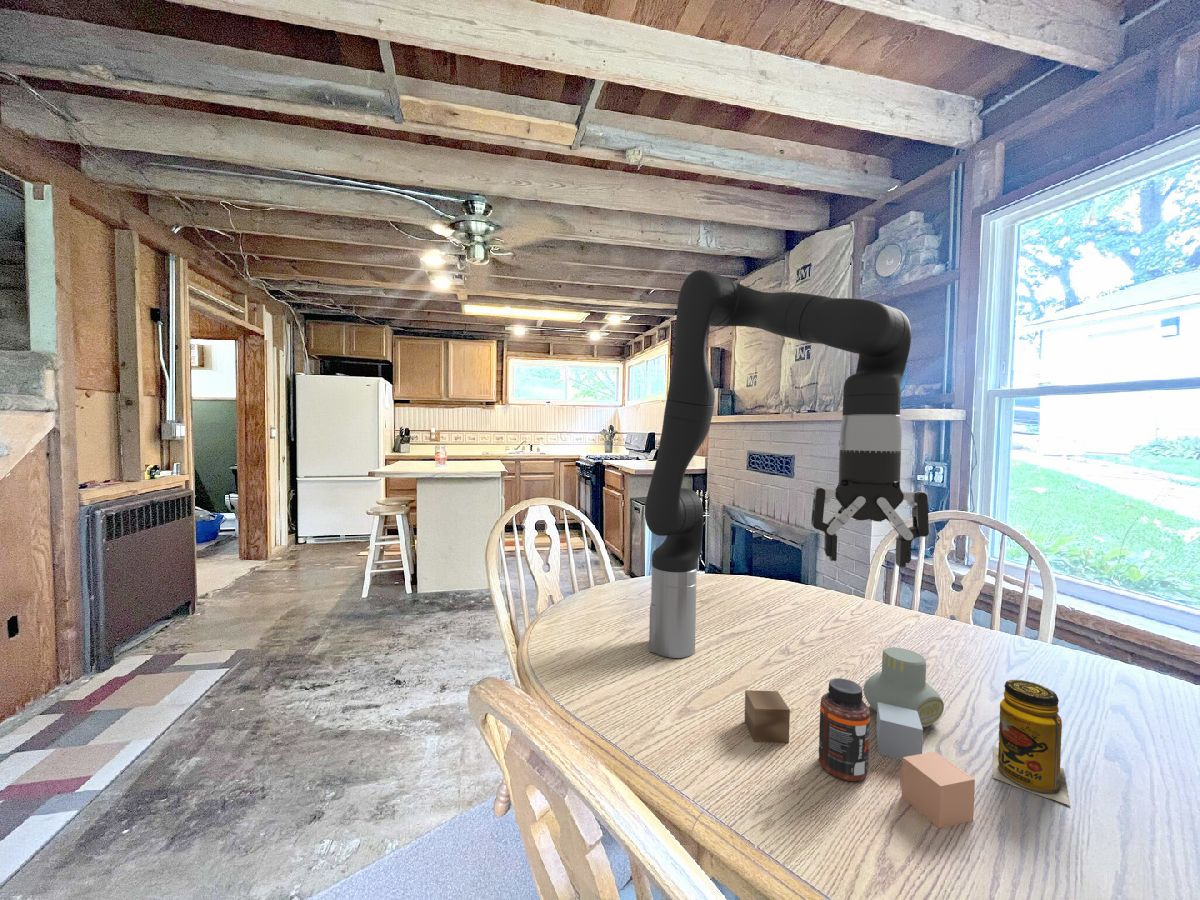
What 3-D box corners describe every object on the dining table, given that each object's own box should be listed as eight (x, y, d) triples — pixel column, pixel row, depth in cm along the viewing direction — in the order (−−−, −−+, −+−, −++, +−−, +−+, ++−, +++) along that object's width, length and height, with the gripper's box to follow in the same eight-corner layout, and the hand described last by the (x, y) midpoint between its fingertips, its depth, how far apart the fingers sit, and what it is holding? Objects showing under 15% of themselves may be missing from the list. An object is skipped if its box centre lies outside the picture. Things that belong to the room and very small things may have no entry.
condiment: (992, 779, 62) (996, 689, 62) (993, 747, 69) (996, 665, 68) (1070, 808, 58) (1075, 710, 57) (1063, 771, 64) (1067, 683, 64)
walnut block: (754, 742, 69) (755, 708, 69) (744, 721, 74) (745, 690, 74) (788, 743, 69) (789, 709, 69) (776, 722, 74) (777, 691, 74)
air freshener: (904, 740, 70) (907, 673, 70) (854, 710, 78) (856, 649, 77) (950, 723, 75) (953, 660, 74) (899, 696, 82) (901, 638, 82)
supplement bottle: (875, 787, 60) (878, 700, 60) (824, 780, 62) (827, 694, 61) (859, 756, 66) (862, 676, 66) (813, 750, 67) (816, 671, 67)
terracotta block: (939, 829, 54) (940, 786, 54) (901, 796, 59) (902, 757, 59) (973, 821, 55) (974, 779, 55) (933, 789, 60) (935, 751, 60)
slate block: (879, 754, 67) (880, 719, 67) (876, 734, 71) (877, 701, 71) (921, 765, 65) (923, 729, 65) (915, 744, 69) (917, 710, 69)
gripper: (817, 447, 65) (814, 564, 66) (938, 449, 61) (934, 575, 62) (811, 446, 73) (808, 552, 73) (919, 448, 68) (915, 561, 69)
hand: (866, 562), depth 67 cm, fingers open, 8 cm apart
